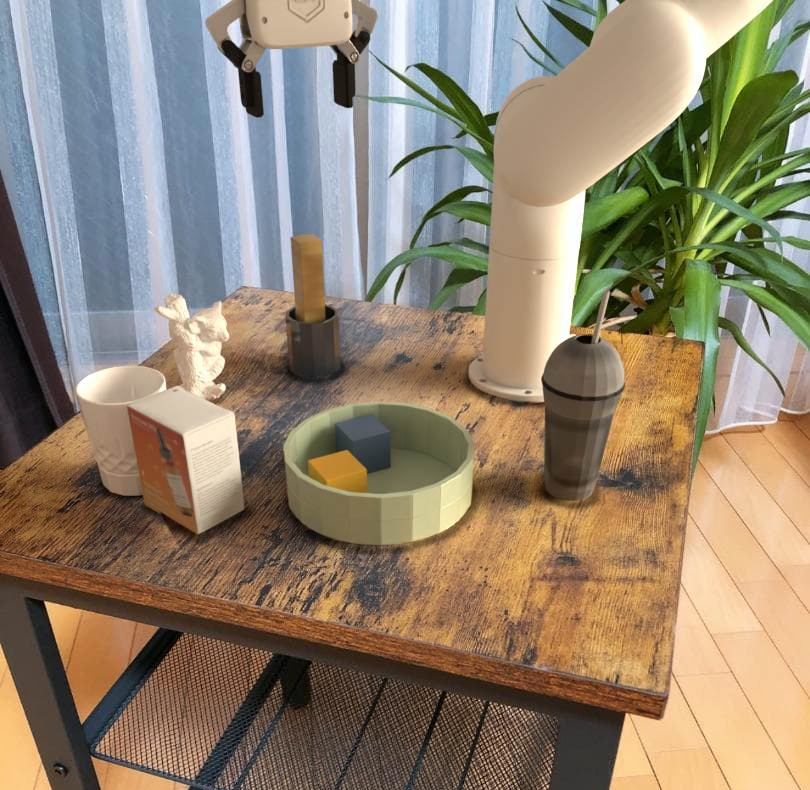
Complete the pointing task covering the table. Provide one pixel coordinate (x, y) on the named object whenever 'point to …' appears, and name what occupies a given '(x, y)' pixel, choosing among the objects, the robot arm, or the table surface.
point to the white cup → (116, 421)
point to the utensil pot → (314, 344)
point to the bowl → (385, 476)
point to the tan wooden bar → (308, 278)
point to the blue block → (365, 442)
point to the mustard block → (339, 472)
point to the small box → (187, 458)
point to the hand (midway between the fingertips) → (300, 110)
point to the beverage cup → (579, 410)
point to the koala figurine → (197, 345)
